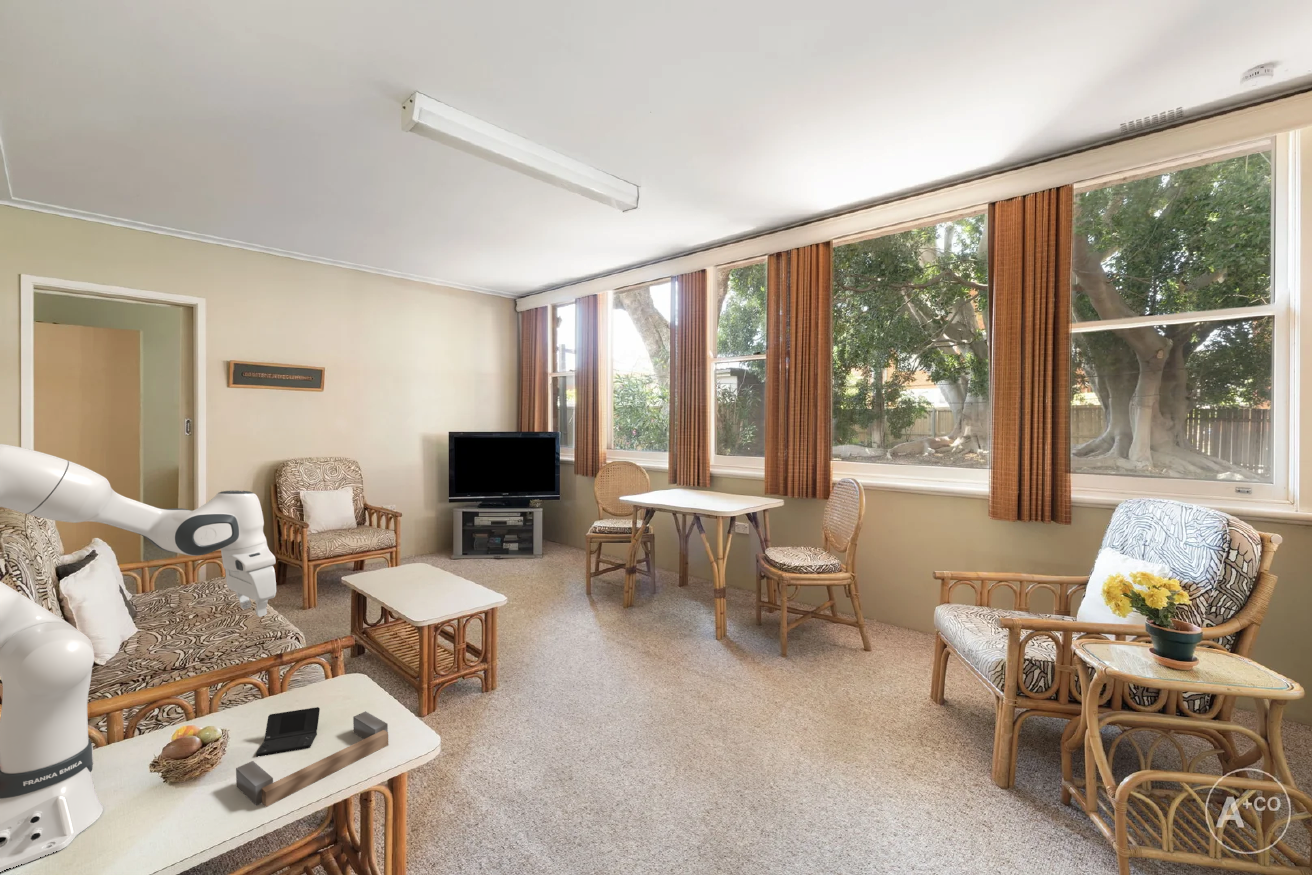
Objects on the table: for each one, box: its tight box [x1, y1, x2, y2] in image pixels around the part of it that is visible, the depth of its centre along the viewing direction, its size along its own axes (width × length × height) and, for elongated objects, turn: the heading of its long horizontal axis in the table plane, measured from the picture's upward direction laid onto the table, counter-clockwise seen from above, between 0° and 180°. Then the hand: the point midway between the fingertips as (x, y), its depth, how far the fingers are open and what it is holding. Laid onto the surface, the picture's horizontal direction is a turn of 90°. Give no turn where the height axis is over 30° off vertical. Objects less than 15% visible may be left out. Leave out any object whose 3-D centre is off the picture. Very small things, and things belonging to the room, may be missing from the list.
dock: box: [235, 711, 389, 807], centre depth 122 cm, size 27×12×4 cm, turn 146°
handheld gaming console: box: [255, 706, 321, 758], centre depth 131 cm, size 12×7×10 cm
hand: (253, 611), depth 133 cm, fingers open, 8 cm apart
